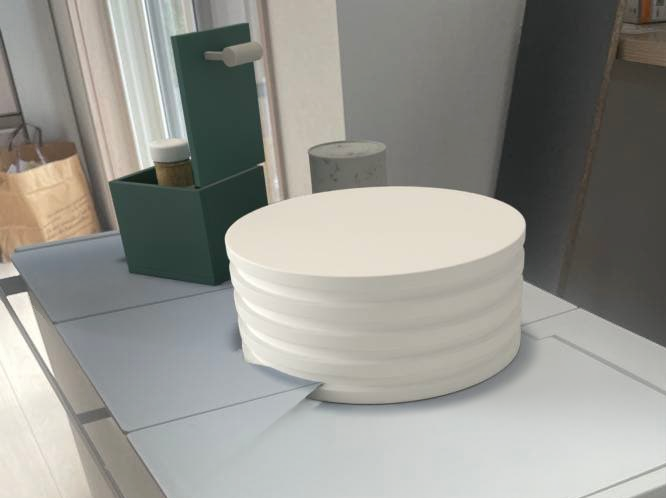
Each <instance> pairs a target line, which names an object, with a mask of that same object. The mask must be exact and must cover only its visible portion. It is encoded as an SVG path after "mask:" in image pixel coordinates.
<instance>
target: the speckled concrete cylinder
mask: <svg viewBox="0 0 666 498" xmlns="http://www.w3.org/2000/svg"><path fill="white" fill-rule="evenodd" d="M386 150H387V145H385V143H383V142H380V141H376V140H375V141H374V140H366V139H348V140H347V139H346V140H335V141H334V140H333V141H327V142H322V143H318V144H315V145H313V146H311V147H308V149H307V154H308V163H309V173H310V174H309V175H310V184H311V194H315V193H321V192H328V191H335V190H343V189H353V188H366V187H388V179H387V178H388V176H387V174H388V173H387V156H386V155H387V154H386V153H387V152H386Z"/></svg>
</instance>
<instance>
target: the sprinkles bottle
mask: <svg viewBox="0 0 666 498" xmlns="http://www.w3.org/2000/svg"><path fill="white" fill-rule="evenodd" d="M149 153H150V158H151V161H153V162H152V163H153V166H155V169H156V174H157V179H158V184H159V185H163V186H173V187H182V188H192V189H195V185H194V182H193V176H192V170H191V166H190V159H191V156H190V150H189V144H188V140H187V139H184V138H178V137H171V138H162V139H156V140H154V141H152V142H150V143H149Z"/></svg>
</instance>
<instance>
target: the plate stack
mask: <svg viewBox="0 0 666 498" xmlns="http://www.w3.org/2000/svg"><path fill="white" fill-rule="evenodd" d="M526 230H527V224H526V219H525V217H524V215H523V214H522V213H521V212H520V211H519V210H518V209H516V208H515V207H513V206H512V205H511V204H508V203H506V202H505V201H502V200H498V199H496V198H493V197H490V196H487V195H483V194H480V193H479V194H478V193H474V192H469V191H464V190H457V189H450V188H442V187H441V188H440V187H429V186H404V185H402V186H398V185H397V186H393V185H392V186H387V187H366V188H353V189H343V190H335V191H328V192H321V193H315V194H312V193H310V194H306V195H301V196H295V197H291V198H287V199H285V200H284V199H283V200H281V201H277V202H274V203H271V204H268V206H265V207H262V208H260V209H257V210H255V211H253V212H251V213H249V214H247V215H245V216H243V217H242V218H240V219H239V220H237V221H236V222H235V223H234V224H233V225H232V226H231V227H230V228H229V229H228V231H227V233H226V235H225V244H226V250H227V255H228V258H229V260H230V266H229V268H230V275H231V278H230V279H231V284H232V287H233V298H234V305H235V309H236V313H237V323H238V330H239V334H240V338H241V347H242V355H243V359H244V362H245V363H248V364H253V365H258V366H263V367H267V368H268V367H269V368H273V369H275V370H277V371H278V372H282V373H284V374H286V375H289V376H292V377H296V378H299V379H303V380H307V381H312V382H318V383H321V384H319V386H317V387H316V388H314V389H313V390H312V391H311V392H309V394H307V395H306V396H305V397H304V398H306V399H311V400H316V401H321V402H328V403H329V402H330V403H337V404H338V403H339V404H351V405H352V404H354V405H355V404H356V405H378V404H381V405H382V404H398V403H407V402H415V401H420V400H428V399H432V398H436V397H437V398H438V397H441V396H445V395H448V394H452V393H457V392H459V391H463V390H465V389H468V388H470V387H473V386H476V385H478V384H480V383H482V382H484V381H487V380H488V379H491V378H492V377H494V376H495V375H497V374H498V373H500V372H501V371H503V370H504V369H505V368H506V367H507V366H509V364H511V362H512V361H513V360H514V359H515V357H516V356H517V354H518V352H519V350H520V347H521V337H522V336H521V335H522V328H521V324H522V323H521V322H522V315H523V302H522V298H523V293H524V275H523V272H524V268H525V248H524V245H525V241H526Z"/></svg>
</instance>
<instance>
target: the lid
mask: <svg viewBox="0 0 666 498" xmlns="http://www.w3.org/2000/svg"><path fill="white" fill-rule="evenodd" d="M169 39H170V44H171V49H172V55H173V61H174V67H175V72H176V78H177V79H176V80H177V84H178V90H179V91H178V92H179V96H180V97H179V98H180V102H181V109H182V113H183V120H184V125H185V131H186V137H187V142H188V145H189V150H190V159H191V161H192V167H193V173H194V179H195V185H196V187H203V186H205V185H208V184H210V183H213V182H215V181H218V180H221V179H223V178H226V177H228V176H231V175H233V174H236V173H238V172H241V171H243V170H246V169H248V168H251V167H253V166H256V165H261V164H263V163H266V154H265V146H264V137H263V129H262V121H261V111H260V105H259V103H260V102H259V96H258V95H259V94H258V87H257V79H256V72H255V62H257V61H261V59H262V58H263V55H264V50H263V46H262V45H261V43H259V42H258V41H256V40H254V41H252V37H251V30H250V23H249V22H239V23H233V24H229V25H223V26H219V27H213V28H209V29H208V28H206V29H202V30H197V31H191V32H185V33H180V34H176V35H175V34H174V35H170V36H169Z"/></svg>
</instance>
